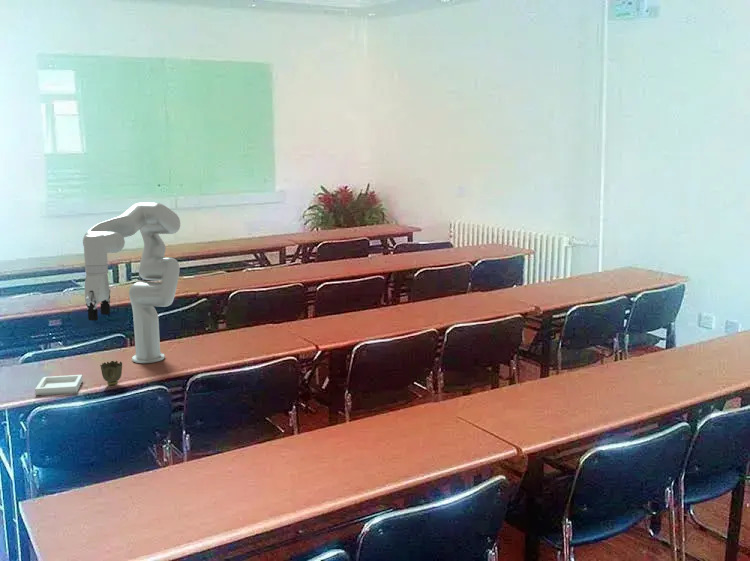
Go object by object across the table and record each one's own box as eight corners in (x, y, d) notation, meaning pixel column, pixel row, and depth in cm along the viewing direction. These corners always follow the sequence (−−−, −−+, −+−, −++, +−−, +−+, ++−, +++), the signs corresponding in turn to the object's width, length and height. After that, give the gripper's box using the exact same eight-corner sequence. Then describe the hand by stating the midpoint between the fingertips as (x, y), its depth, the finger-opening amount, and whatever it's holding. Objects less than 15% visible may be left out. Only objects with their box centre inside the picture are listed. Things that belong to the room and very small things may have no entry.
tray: (44, 383, 275) (43, 376, 274) (82, 381, 277) (82, 374, 277) (35, 395, 262) (34, 389, 261) (76, 393, 265) (75, 386, 264)
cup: (97, 386, 272) (95, 364, 270) (113, 380, 278) (111, 359, 277) (112, 389, 268) (110, 367, 267) (127, 383, 275) (126, 362, 273)
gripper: (97, 265, 274) (100, 311, 277) (74, 273, 257) (77, 322, 260) (117, 266, 273) (120, 312, 276) (95, 273, 256) (98, 322, 259)
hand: (99, 317), depth 268 cm, fingers open, 9 cm apart
